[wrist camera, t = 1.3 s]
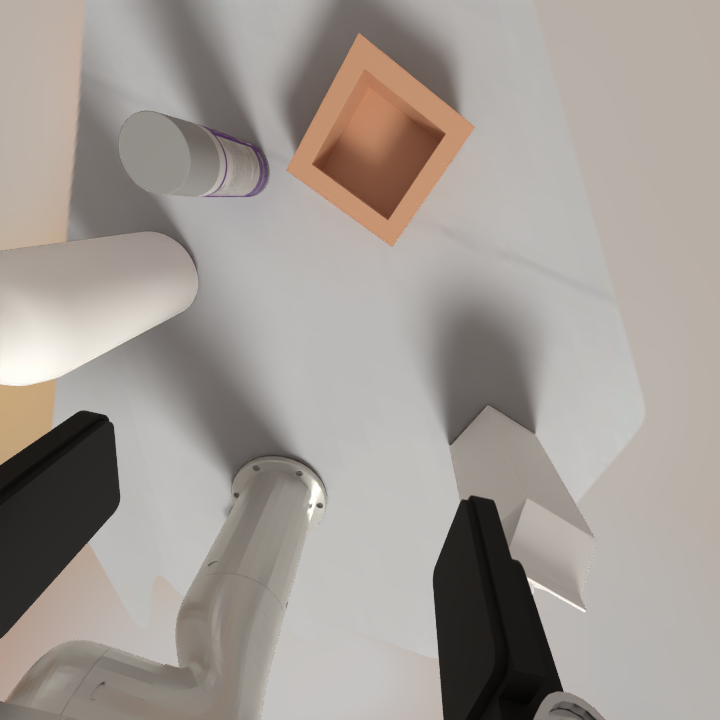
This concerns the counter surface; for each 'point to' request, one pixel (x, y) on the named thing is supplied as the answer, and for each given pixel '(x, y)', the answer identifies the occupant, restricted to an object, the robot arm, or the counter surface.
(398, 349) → the counter surface
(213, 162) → the container
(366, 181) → the tan open box
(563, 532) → the milk carton
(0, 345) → the alcohol
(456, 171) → the counter surface
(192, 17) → the counter surface
